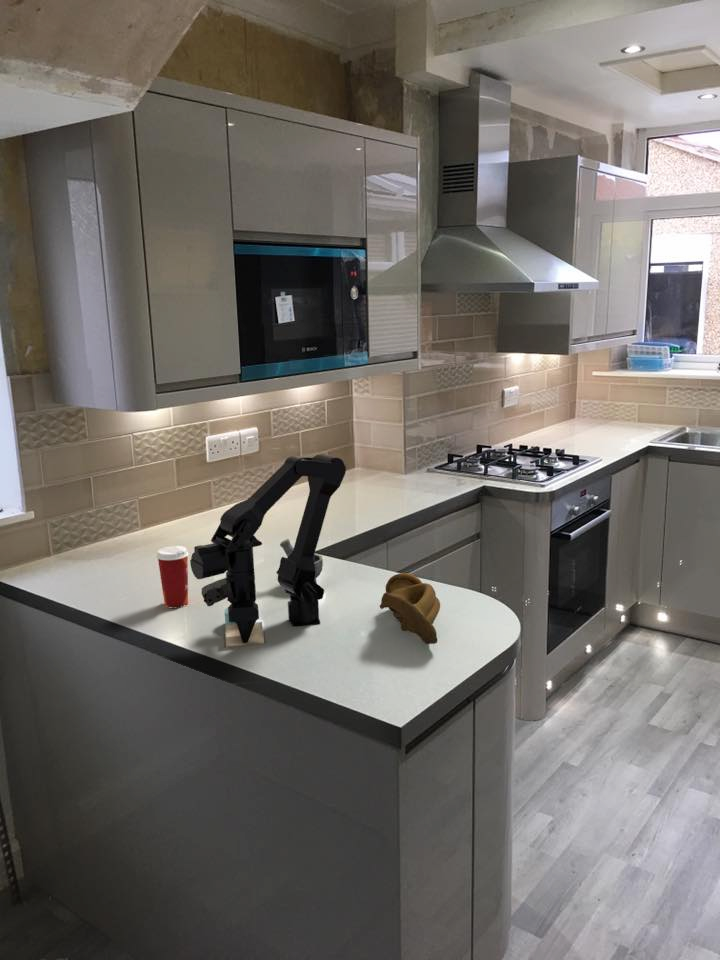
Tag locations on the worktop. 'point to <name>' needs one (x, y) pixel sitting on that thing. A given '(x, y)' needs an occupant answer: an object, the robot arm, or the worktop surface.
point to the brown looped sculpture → (412, 605)
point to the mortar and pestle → (317, 558)
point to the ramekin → (228, 618)
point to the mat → (243, 645)
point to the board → (235, 638)
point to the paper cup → (174, 575)
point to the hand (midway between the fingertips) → (244, 636)
